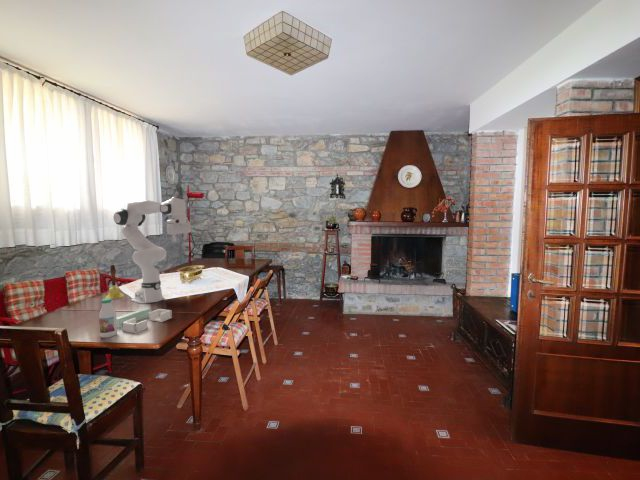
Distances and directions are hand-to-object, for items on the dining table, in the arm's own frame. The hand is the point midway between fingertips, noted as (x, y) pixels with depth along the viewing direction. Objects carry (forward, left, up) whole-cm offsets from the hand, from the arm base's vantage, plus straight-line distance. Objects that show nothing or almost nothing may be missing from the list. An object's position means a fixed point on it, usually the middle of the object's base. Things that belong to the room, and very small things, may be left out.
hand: (180, 240), depth 221 cm
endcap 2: (+8, -27, -46) cm, 54 cm away
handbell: (-65, -1, -47) cm, 80 cm away
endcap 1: (+8, -45, -46) cm, 65 cm away
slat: (-4, -36, -47) cm, 59 cm away
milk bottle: (+2, -56, -46) cm, 73 cm away
